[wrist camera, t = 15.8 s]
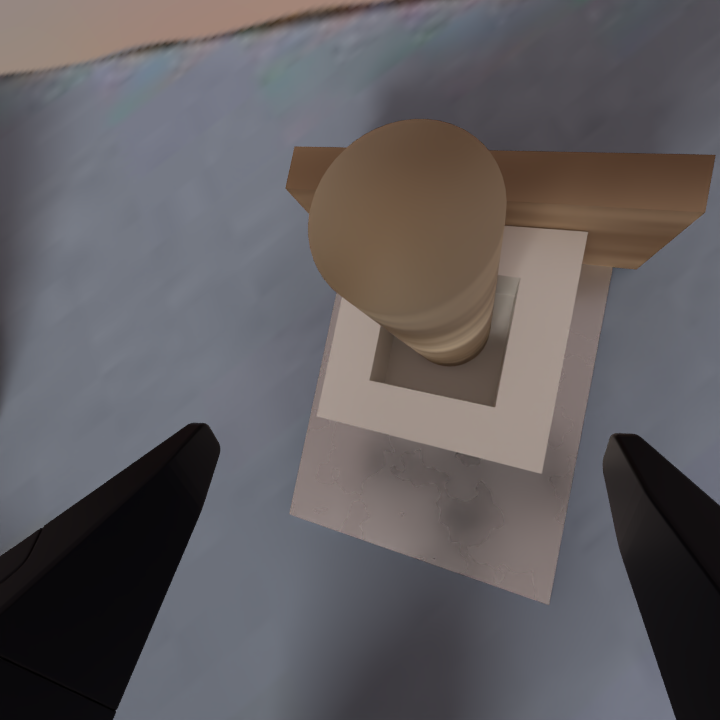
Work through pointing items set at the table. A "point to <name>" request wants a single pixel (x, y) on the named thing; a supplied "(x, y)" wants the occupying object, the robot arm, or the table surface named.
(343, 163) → the dowel
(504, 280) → the socket block
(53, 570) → the robot arm
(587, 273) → the rail base
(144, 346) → the table surface
